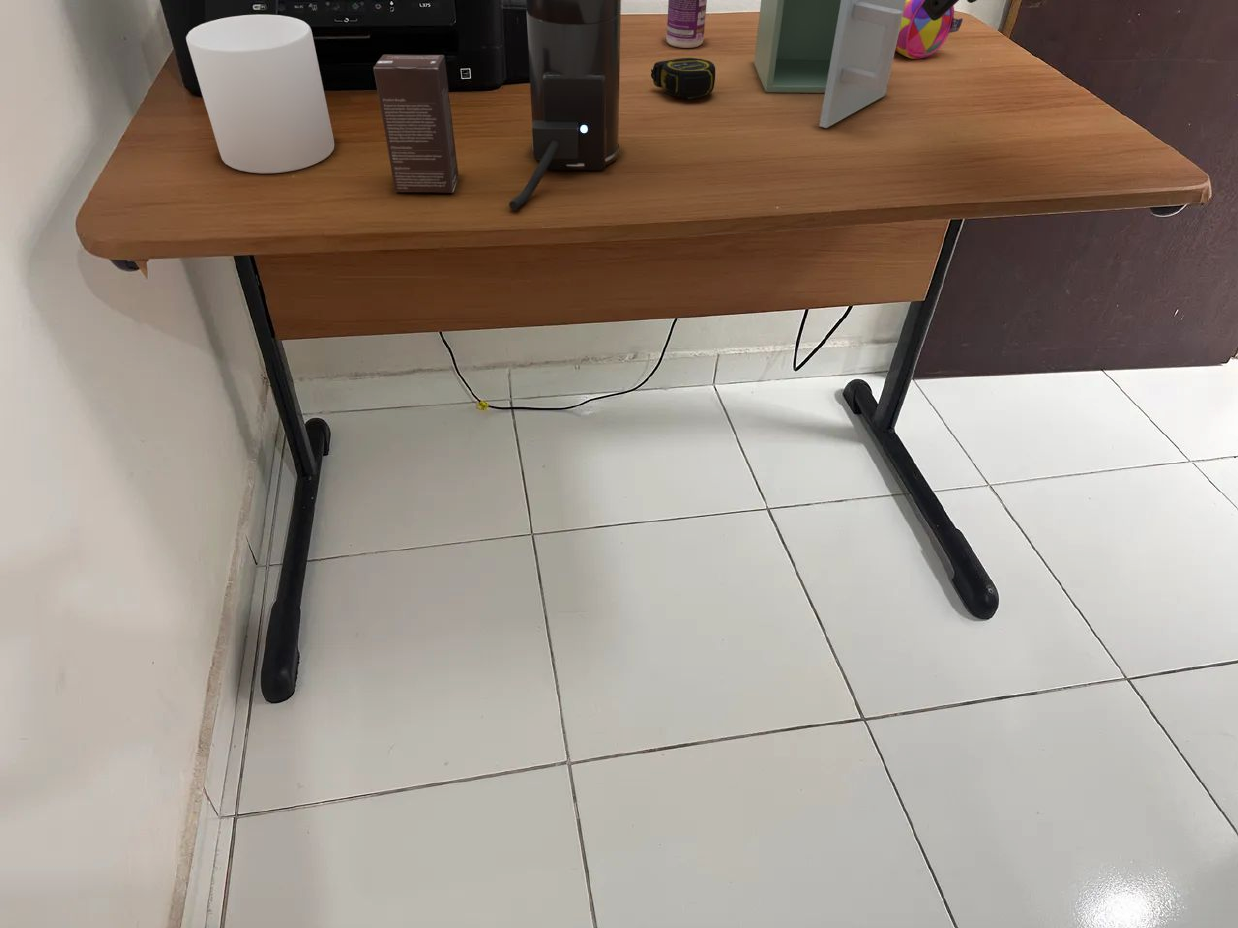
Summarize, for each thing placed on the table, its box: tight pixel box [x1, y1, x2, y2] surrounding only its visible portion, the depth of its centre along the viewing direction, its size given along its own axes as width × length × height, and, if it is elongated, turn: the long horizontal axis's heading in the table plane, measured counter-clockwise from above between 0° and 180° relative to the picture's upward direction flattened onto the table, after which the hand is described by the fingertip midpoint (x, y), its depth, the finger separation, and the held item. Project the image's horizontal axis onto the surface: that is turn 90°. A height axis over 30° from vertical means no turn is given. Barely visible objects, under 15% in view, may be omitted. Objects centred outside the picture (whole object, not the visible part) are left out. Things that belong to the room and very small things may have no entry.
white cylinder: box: [185, 14, 335, 174], centre depth 89 cm, size 12×12×12 cm
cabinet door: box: [818, 0, 906, 129], centre depth 98 cm, size 6×15×16 cm, turn 140°
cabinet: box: [753, 0, 841, 94], centre depth 108 cm, size 11×15×17 cm
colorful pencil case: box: [895, 0, 964, 60], centre depth 123 cm, size 22×9×9 cm, turn 26°
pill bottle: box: [665, 0, 708, 49], centre depth 120 cm, size 5×5×10 cm
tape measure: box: [650, 57, 716, 100], centre depth 107 cm, size 7×7×4 cm
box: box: [373, 54, 460, 194], centre depth 84 cm, size 6×4×12 cm
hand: (947, 4), depth 87 cm, fingers open, 8 cm apart
